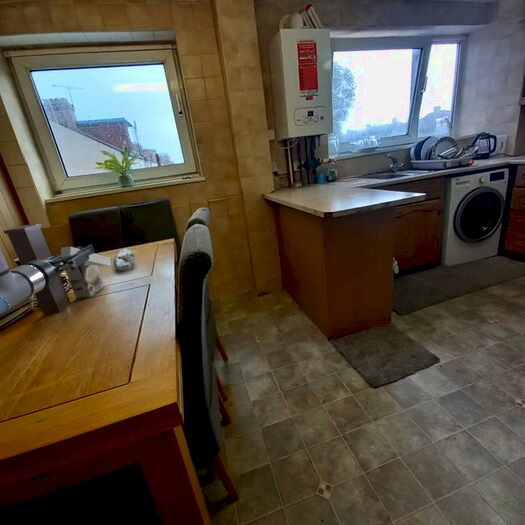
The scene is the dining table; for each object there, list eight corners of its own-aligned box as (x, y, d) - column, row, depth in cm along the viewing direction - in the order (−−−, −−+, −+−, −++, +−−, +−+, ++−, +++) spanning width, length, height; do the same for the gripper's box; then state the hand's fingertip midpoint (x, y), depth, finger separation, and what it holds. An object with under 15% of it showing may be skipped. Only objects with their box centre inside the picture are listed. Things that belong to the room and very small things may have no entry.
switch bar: (60, 257, 83) (61, 247, 84) (102, 267, 103) (102, 259, 103) (70, 256, 83) (70, 246, 83) (110, 266, 103) (110, 258, 103)
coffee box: (91, 297, 106) (76, 257, 100) (75, 298, 106) (59, 259, 100) (105, 286, 114) (92, 249, 109) (90, 287, 115) (76, 251, 109)
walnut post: (41, 314, 96) (3, 230, 86) (55, 305, 102) (21, 225, 92) (60, 312, 96) (24, 228, 85) (72, 303, 102) (40, 223, 92)
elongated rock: (135, 253, 161) (116, 258, 157) (132, 245, 159) (113, 250, 156) (137, 267, 130) (115, 274, 127) (134, 256, 129) (110, 263, 125)
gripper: (8, 294, 72) (68, 262, 94) (67, 287, 72) (113, 257, 94) (-5, 267, 70) (59, 241, 92) (56, 260, 69) (106, 235, 91)
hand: (86, 249), depth 93 cm, fingers closed on switch bar, 3 cm apart
